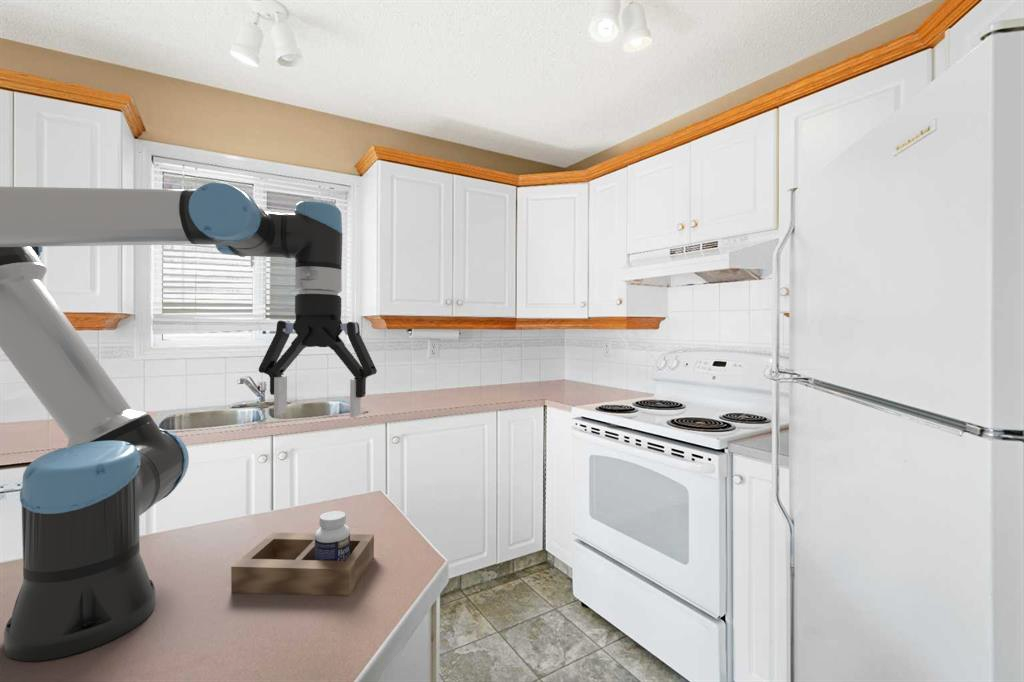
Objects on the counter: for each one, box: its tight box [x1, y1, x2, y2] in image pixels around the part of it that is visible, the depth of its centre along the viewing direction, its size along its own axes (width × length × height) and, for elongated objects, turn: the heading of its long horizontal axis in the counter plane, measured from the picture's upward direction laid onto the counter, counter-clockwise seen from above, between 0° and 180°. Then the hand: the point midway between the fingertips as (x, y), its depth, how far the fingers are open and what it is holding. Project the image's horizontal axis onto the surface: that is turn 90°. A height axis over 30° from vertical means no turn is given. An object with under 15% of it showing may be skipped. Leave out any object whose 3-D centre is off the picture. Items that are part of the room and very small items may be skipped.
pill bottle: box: [314, 510, 351, 561], centre depth 78 cm, size 5×5×10 cm
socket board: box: [230, 532, 375, 597], centre depth 78 cm, size 18×12×4 cm, turn 89°
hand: (317, 414), depth 83 cm, fingers open, 13 cm apart
